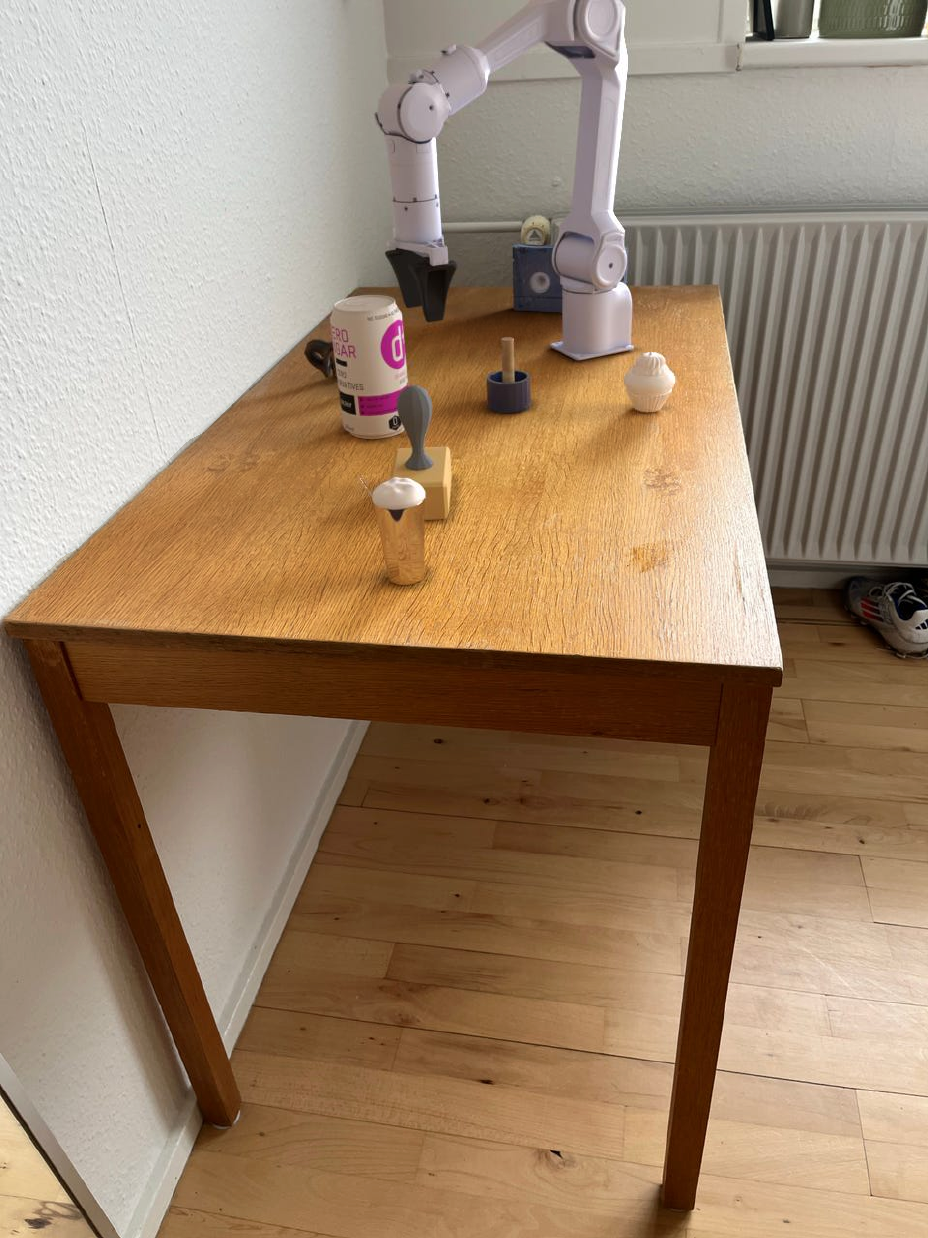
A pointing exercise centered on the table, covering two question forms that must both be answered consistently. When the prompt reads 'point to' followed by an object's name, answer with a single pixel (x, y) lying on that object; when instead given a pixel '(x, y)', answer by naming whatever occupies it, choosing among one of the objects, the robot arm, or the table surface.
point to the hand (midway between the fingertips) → (424, 313)
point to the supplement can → (369, 364)
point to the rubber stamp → (423, 453)
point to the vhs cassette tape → (538, 279)
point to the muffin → (649, 382)
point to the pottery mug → (326, 353)
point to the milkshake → (401, 528)
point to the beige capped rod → (507, 360)
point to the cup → (508, 393)
